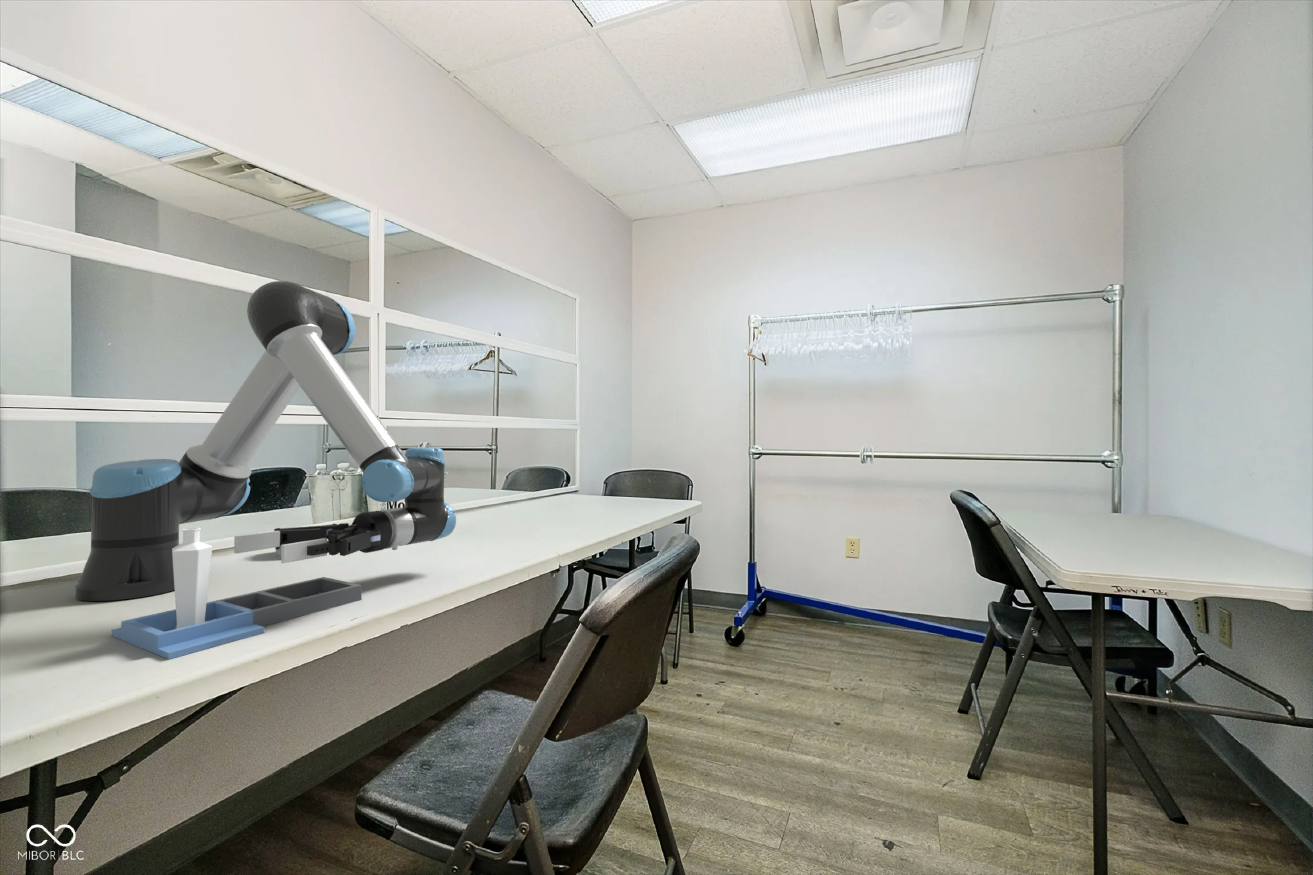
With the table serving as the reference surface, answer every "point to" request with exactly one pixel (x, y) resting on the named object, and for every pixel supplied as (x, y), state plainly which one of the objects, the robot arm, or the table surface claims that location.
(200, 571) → the perfume bottle
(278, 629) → the table surface
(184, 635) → the compartment sorting tray
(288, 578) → the table surface
